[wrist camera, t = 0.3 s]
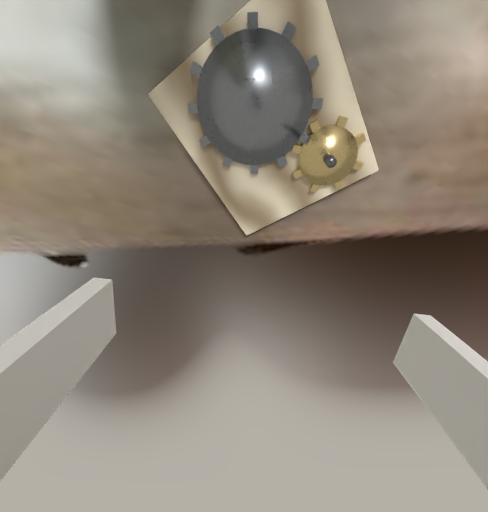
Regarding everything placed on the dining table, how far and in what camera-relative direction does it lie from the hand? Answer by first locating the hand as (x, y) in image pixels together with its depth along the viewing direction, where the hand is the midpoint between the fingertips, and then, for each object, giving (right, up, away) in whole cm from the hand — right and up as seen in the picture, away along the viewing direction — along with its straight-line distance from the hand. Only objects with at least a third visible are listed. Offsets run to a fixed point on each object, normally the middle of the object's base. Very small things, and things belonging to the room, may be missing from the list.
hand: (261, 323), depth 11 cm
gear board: (+2, +19, +20) cm, 28 cm away
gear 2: (+10, +16, +20) cm, 27 cm away
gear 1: (0, +20, +17) cm, 27 cm away
